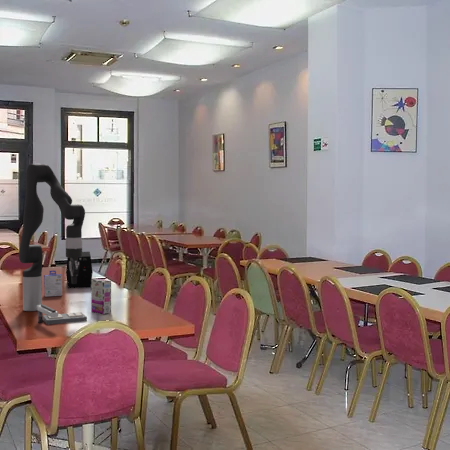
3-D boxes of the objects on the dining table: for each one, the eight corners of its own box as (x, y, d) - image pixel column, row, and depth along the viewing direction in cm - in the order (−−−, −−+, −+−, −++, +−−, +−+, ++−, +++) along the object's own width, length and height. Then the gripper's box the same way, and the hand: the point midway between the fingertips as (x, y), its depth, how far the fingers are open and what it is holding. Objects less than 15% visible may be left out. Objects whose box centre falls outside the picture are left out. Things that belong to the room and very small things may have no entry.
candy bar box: (111, 313, 295) (111, 280, 294) (103, 315, 291) (103, 281, 291) (99, 310, 303) (99, 278, 302) (90, 311, 299) (90, 279, 298)
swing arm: (35, 309, 274) (35, 303, 274) (42, 308, 276) (42, 302, 276) (51, 317, 256) (51, 311, 256) (58, 316, 258) (58, 310, 258)
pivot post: (37, 322, 274) (37, 310, 274) (42, 321, 275) (42, 309, 275) (38, 323, 272) (38, 310, 272) (43, 322, 273) (42, 310, 273)
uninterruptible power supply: (91, 280, 408) (91, 251, 407) (92, 288, 375) (92, 256, 374) (66, 281, 404) (66, 251, 403) (65, 288, 371) (65, 257, 370)
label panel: (42, 319, 280) (42, 313, 280) (81, 316, 288) (81, 310, 288) (47, 324, 269) (47, 318, 269) (86, 321, 277) (86, 315, 277)
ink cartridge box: (61, 294, 351) (61, 269, 350) (62, 295, 346) (62, 271, 345) (43, 295, 347) (43, 270, 346) (45, 296, 342) (44, 271, 341)
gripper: (63, 246, 283) (63, 282, 284) (68, 248, 271) (68, 286, 272) (79, 245, 286) (79, 281, 287) (85, 248, 274) (85, 285, 275)
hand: (74, 283), depth 280 cm, fingers closed
